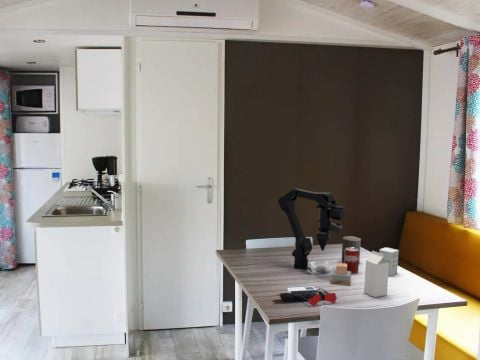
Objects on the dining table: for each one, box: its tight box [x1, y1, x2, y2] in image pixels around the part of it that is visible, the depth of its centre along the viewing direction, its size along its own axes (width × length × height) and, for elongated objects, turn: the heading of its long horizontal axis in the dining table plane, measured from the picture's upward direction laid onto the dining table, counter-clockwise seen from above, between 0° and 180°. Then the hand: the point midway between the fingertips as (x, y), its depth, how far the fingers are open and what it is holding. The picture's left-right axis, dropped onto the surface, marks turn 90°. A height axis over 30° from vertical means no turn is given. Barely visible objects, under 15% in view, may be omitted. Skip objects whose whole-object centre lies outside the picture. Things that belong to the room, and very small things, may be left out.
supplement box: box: [378, 246, 400, 277], centre depth 253 cm, size 7×7×13 cm
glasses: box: [295, 288, 338, 307], centre depth 216 cm, size 14×16×5 cm
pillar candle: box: [340, 235, 362, 264], centre depth 271 cm, size 10×10×15 cm
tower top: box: [331, 269, 352, 283], centre depth 239 cm, size 8×8×2 cm
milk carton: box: [363, 250, 389, 298], centre depth 222 cm, size 7×7×19 cm
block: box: [335, 262, 347, 275], centre depth 239 cm, size 5×5×4 cm
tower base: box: [330, 273, 352, 287], centre depth 239 cm, size 9×9×2 cm
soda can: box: [344, 248, 360, 275], centre depth 255 cm, size 7×7×12 cm
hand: (323, 248), depth 251 cm, fingers open, 9 cm apart
